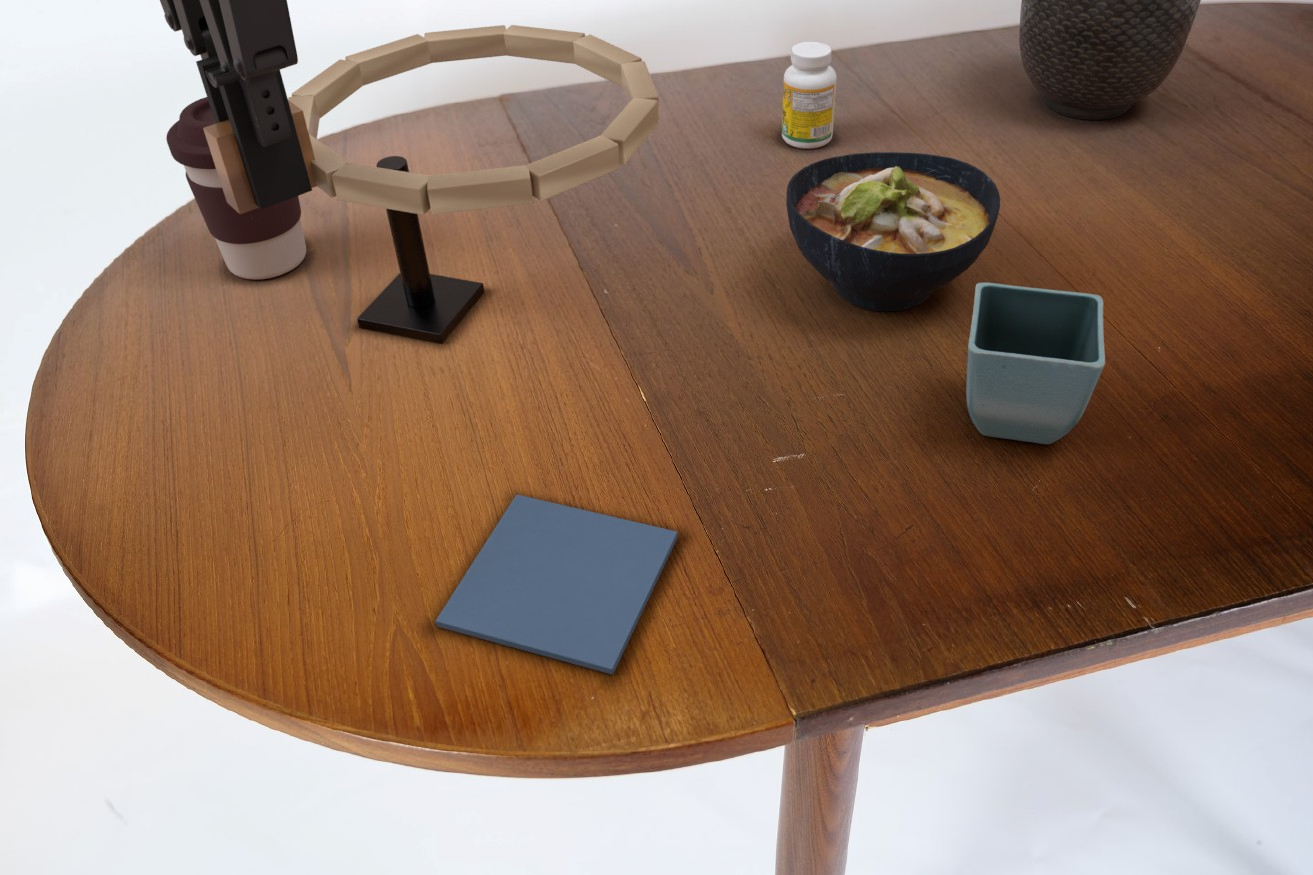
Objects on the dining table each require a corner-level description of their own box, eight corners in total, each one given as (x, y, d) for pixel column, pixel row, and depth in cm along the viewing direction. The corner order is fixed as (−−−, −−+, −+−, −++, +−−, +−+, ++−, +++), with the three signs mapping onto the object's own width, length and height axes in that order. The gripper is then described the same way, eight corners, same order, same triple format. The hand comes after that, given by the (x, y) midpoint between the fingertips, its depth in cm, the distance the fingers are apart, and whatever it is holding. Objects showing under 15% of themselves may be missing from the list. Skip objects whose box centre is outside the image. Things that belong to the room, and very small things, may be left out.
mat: (613, 675, 68) (612, 669, 68) (436, 626, 71) (435, 620, 71) (678, 537, 76) (677, 531, 76) (517, 499, 80) (516, 493, 79)
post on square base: (442, 344, 94) (411, 194, 85) (358, 328, 96) (320, 180, 87) (484, 292, 100) (460, 146, 91) (405, 278, 102) (373, 134, 93)
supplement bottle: (825, 153, 117) (831, 62, 110) (775, 146, 118) (778, 57, 112) (837, 130, 120) (844, 41, 114) (788, 124, 122) (792, 36, 116)
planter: (1162, 74, 127) (1201, -75, 117) (1178, 144, 115) (1224, -16, 104) (1004, 66, 131) (1028, -80, 120) (1003, 133, 118) (1030, -23, 108)
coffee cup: (191, 268, 105) (135, 116, 95) (276, 222, 110) (232, 74, 101) (258, 302, 100) (207, 146, 90) (344, 252, 106) (304, 100, 96)
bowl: (1018, 324, 93) (1040, 218, 86) (817, 357, 91) (825, 250, 84) (937, 221, 106) (951, 121, 99) (759, 248, 103) (762, 147, 97)
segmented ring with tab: (325, 292, 50) (303, 211, 47) (159, 141, 62) (134, 70, 59) (730, 123, 61) (730, 50, 58) (522, 23, 72) (515, -41, 70)
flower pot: (959, 376, 88) (976, 279, 82) (1077, 392, 86) (1103, 293, 80) (950, 449, 82) (967, 349, 76) (1077, 468, 80) (1105, 367, 74)
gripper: (287, -396, 38) (413, 216, 54) (132, -413, 47) (279, 118, 62) (63, -371, 35) (267, 276, 50) (-60, -394, 44) (146, 163, 59)
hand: (273, 188), depth 56 cm, fingers closed on segmented ring with tab, 2 cm apart
